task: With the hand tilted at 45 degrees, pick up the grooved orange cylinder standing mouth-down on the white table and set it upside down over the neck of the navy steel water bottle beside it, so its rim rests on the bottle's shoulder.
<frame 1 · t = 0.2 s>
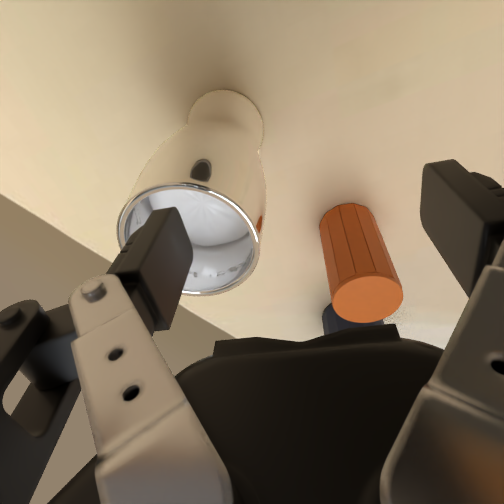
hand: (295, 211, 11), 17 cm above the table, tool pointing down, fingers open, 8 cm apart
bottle: (350, 316, 40), on the table
silver metal tumbler: (225, 129, 27), on the table
grooved orange cylinder: (346, 226, 32), on the table
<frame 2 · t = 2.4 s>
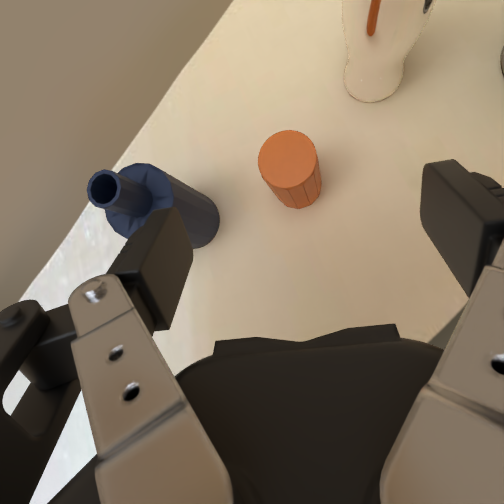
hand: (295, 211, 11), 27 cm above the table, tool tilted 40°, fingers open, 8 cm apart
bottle: (193, 221, 41), on the table
silver metal tumbler: (372, 76, 37), on the table
grooved orange cylinder: (298, 186, 38), on the table
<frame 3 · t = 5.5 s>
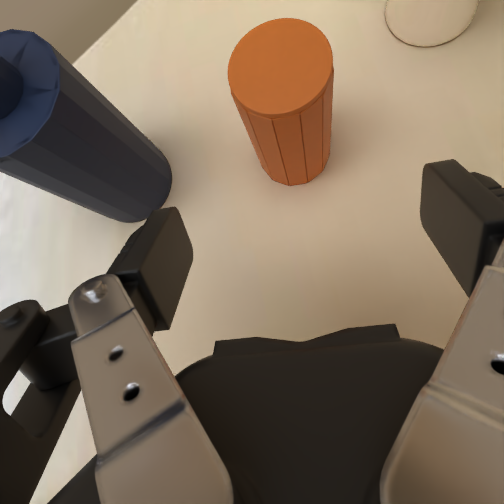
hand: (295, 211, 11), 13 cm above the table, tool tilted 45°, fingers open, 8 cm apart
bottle: (133, 182, 28), on the table
silver metal tumbler: (427, 12, 25), on the table
grooved orange cylinder: (294, 152, 25), on the table
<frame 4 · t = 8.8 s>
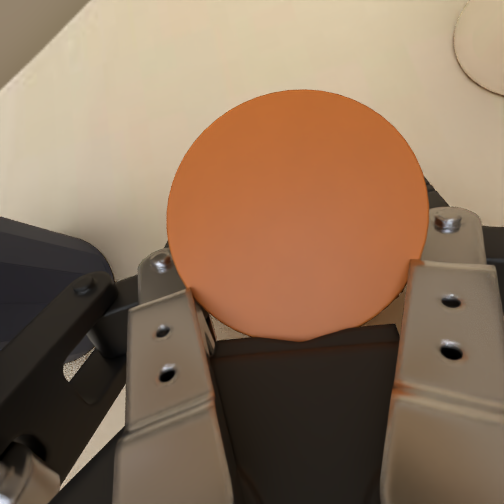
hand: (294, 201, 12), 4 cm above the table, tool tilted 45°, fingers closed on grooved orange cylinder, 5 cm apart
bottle: (58, 299, 18), on the table
grooved orange cylinder: (307, 266, 16), on the table, touching gripper
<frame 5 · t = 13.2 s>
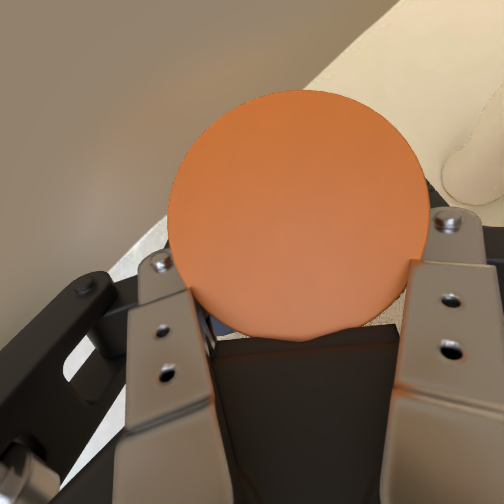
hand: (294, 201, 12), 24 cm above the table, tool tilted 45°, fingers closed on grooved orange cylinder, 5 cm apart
silver metal tumbler: (473, 176, 34), on the table
grooved orange cylinder: (307, 267, 16), point 20 cm above the table, touching gripper
when the fingers open (16 cm above the table, at t = 17.7 s): grooved orange cylinder stays where it is, resting on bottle.
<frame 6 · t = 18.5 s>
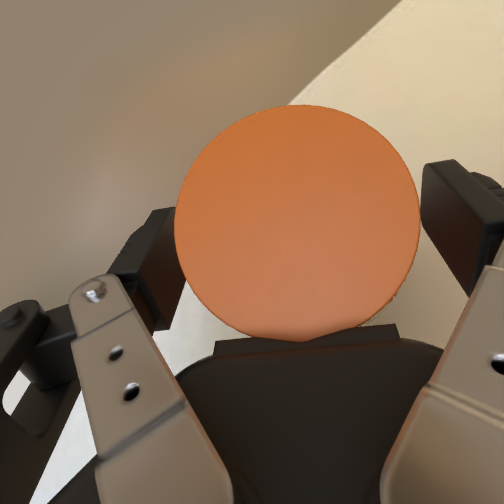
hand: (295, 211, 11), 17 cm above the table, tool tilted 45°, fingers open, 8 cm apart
grooved orange cylinder: (307, 269, 16), point 12 cm above the table, touching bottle
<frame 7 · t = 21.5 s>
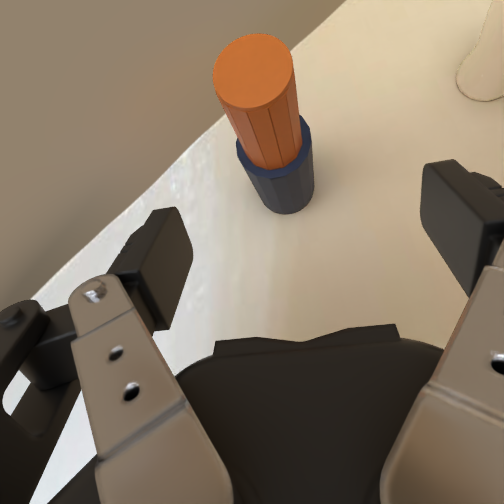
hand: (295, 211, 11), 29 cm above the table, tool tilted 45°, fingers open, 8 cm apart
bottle: (286, 188, 42), on the table
silver metal tumbler: (483, 78, 39), on the table
grooved orange cylinder: (272, 142, 30), point 12 cm above the table, touching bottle
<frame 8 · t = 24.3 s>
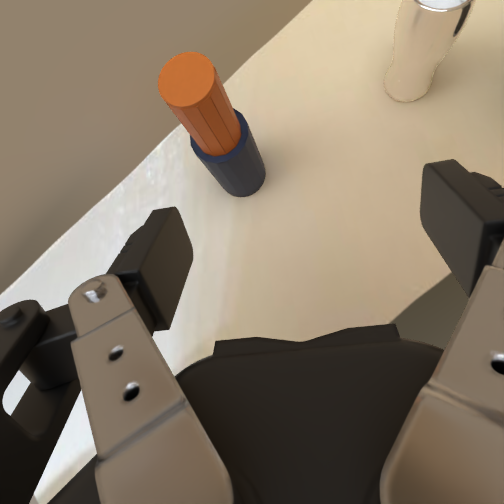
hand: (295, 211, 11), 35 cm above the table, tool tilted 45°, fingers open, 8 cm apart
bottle: (242, 174, 49), on the table
silver metal tumbler: (406, 82, 47), on the table
grooved orange cylinder: (218, 134, 38), point 12 cm above the table, touching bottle
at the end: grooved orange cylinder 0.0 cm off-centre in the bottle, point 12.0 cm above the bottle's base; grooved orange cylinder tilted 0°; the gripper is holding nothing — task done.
